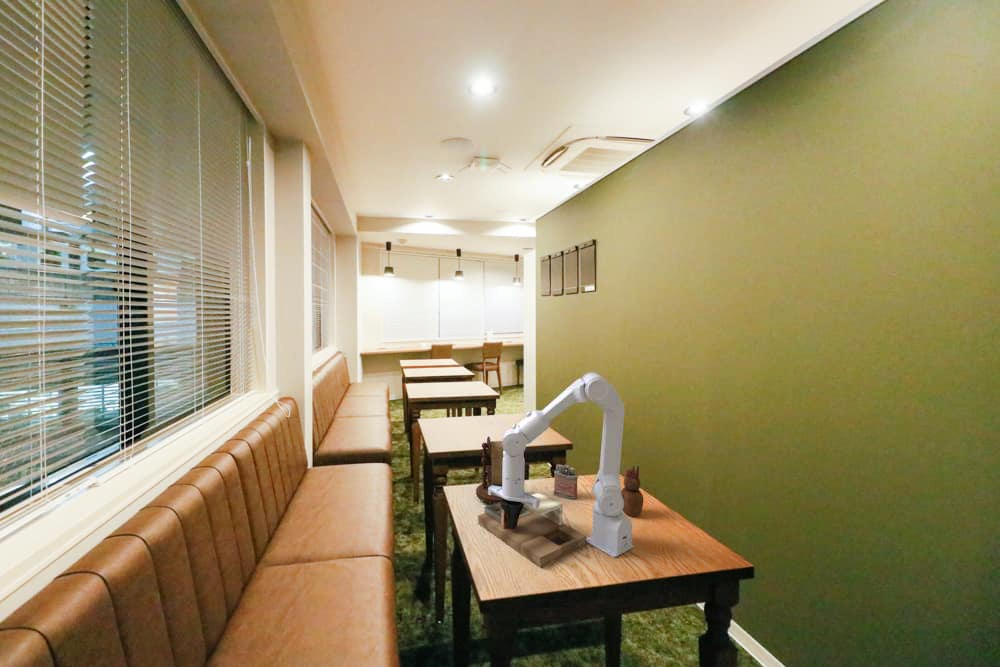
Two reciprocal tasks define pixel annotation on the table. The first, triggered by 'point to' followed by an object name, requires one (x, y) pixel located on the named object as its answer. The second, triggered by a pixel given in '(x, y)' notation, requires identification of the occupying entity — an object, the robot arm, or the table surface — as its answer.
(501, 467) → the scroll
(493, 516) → the carriage
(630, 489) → the wooden figurine
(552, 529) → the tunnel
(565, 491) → the lighter
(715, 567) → the table surface
